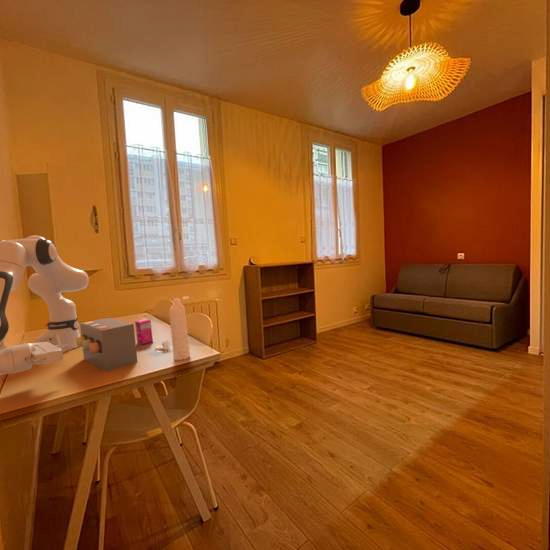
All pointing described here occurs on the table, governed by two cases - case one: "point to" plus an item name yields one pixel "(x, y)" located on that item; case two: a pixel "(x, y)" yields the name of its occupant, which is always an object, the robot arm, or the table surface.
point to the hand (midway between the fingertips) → (70, 346)
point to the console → (110, 343)
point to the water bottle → (179, 330)
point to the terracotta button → (94, 347)
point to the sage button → (86, 343)
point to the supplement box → (143, 332)
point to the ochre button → (80, 340)
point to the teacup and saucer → (163, 346)
